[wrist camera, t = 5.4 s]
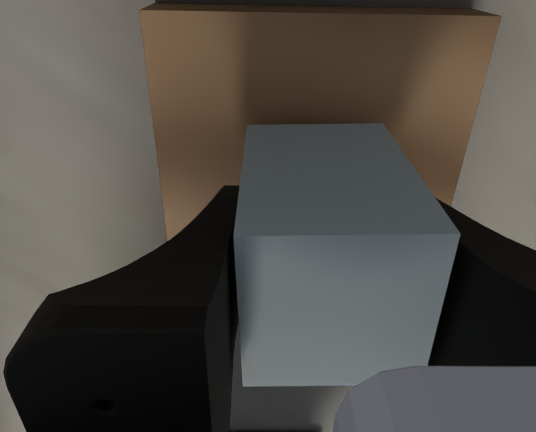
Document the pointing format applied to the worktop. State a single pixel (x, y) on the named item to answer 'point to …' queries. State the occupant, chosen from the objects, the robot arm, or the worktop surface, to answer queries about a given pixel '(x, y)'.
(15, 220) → the worktop surface
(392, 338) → the block
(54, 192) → the worktop surface
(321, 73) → the base
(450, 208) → the robot arm
